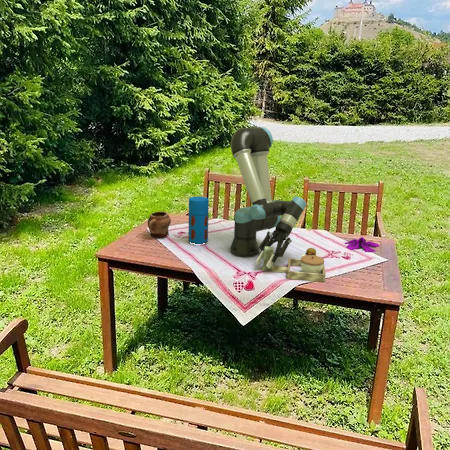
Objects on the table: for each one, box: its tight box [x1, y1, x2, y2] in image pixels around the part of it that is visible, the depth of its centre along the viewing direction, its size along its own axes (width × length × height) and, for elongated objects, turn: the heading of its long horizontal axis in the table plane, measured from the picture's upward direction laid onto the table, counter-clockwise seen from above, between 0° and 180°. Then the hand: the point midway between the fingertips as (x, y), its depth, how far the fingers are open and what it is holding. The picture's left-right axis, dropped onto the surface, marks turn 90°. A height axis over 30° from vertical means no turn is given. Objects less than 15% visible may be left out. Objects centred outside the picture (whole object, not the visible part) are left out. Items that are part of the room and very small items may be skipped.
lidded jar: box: [300, 255, 325, 274], centre depth 203 cm, size 11×11×9 cm
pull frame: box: [261, 246, 326, 283], centre depth 205 cm, size 29×17×11 cm, turn 80°
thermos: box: [188, 196, 210, 244], centre depth 239 cm, size 11×11×25 cm
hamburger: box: [301, 247, 319, 257], centre depth 226 cm, size 12×12×6 cm
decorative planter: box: [147, 211, 172, 239], centre depth 247 cm, size 20×12×14 cm, turn 164°
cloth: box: [344, 236, 381, 253], centre depth 244 cm, size 22×19×6 cm
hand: (262, 265), depth 205 cm, fingers closed on pull frame, 6 cm apart
